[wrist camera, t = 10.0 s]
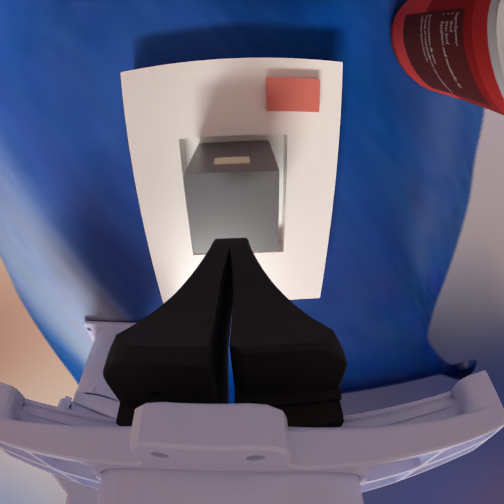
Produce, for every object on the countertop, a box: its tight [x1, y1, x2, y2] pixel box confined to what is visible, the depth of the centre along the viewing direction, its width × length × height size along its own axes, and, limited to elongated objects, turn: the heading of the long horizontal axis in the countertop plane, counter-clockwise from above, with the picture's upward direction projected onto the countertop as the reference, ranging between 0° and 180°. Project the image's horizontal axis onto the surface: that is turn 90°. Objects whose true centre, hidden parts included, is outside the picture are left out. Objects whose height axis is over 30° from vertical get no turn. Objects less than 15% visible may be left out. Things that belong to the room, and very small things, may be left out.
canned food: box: [391, 0, 504, 115], centre depth 11 cm, size 8×8×11 cm
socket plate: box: [120, 58, 343, 303], centre depth 21 cm, size 18×13×3 cm
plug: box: [184, 140, 279, 253], centre depth 18 cm, size 7×4×6 cm
